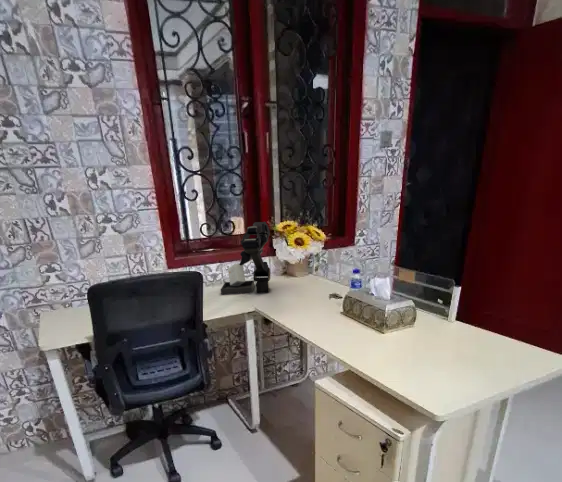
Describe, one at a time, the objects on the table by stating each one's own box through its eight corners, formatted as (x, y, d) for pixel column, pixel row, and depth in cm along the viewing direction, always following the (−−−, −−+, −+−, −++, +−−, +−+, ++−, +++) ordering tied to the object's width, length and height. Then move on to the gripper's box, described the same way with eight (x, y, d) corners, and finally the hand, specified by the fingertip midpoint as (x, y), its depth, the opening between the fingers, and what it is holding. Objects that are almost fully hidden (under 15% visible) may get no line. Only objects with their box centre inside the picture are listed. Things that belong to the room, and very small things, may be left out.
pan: (254, 285, 242) (253, 280, 241) (251, 292, 231) (251, 287, 229) (225, 287, 244) (224, 282, 242) (221, 294, 232) (220, 289, 231)
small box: (245, 282, 235) (243, 264, 236) (237, 280, 231) (235, 263, 232) (238, 286, 241) (235, 269, 242) (229, 285, 237) (227, 268, 239)
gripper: (255, 229, 236) (240, 248, 245) (241, 236, 221) (226, 256, 230) (269, 243, 237) (254, 262, 246) (256, 251, 222) (240, 271, 231)
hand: (243, 262), depth 238 cm, fingers open, 9 cm apart
